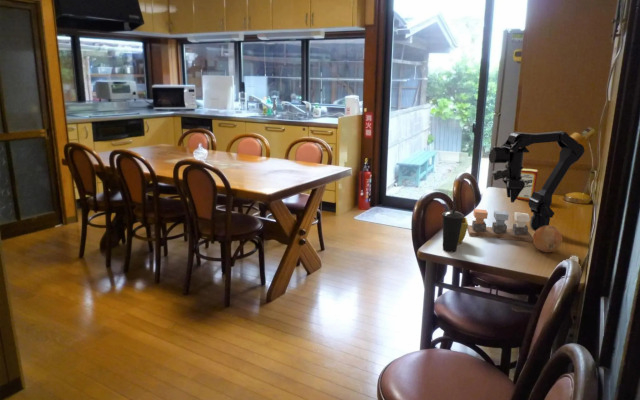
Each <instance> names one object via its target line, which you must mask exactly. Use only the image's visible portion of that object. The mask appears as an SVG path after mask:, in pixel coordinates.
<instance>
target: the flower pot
mask: <svg viewBox="0 0 640 400" xmlns="http://www.w3.org/2000/svg"><path fill="white" fill-rule="evenodd" d="M468 225H469V222H468V219H467V217H465V216H464V218H463V221H462V225H461V230H460V235H459V240H458V245H460V244H461V243H462V242H463V241H464V239H465V237H466V235H467V232H468V230H467V227H468Z"/></svg>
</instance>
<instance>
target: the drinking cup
mask: <svg viewBox="0 0 640 400" xmlns="http://www.w3.org/2000/svg"><path fill="white" fill-rule="evenodd" d="M456 201H457V197H456V196H455V197H453V203H452V204H453V205H452V210H447V211H444V212H442V214H441V215H442V251H444V252H448V253H455V252H457V249H458V245H459V244H458V240H459V235H460V230H461V225H462V221H463V218H464V217H465V214H463V213H462V212H460V211H457V210H456V209H455V208H456V203H457V202H456Z"/></svg>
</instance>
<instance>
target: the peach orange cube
mask: <svg viewBox="0 0 640 400" xmlns="http://www.w3.org/2000/svg"><path fill="white" fill-rule="evenodd" d="M488 214H489V213H488V211H487V210H486V209H478V208H477V209H476V208H474V209H473V217H474V219H475V220H474V221H475V223H476V224H483V223H484V221H485V220H487V219H488Z"/></svg>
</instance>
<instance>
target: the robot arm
mask: <svg viewBox="0 0 640 400" xmlns="http://www.w3.org/2000/svg"><path fill="white" fill-rule="evenodd" d="M555 142H556V143H557V146H558V147H560V152H559V160H558V161H557V163H556V165H555V167H553V169H552V171H551V172H550V174H549V176H548V178H547V179H546V181H545V183H544V184H543V186H542V188H541V189H540V190H538V191H536V190H535V191H534V192H533V193H532V196H531V197H530V198H529V200H528V203H527V204H528V207H529V208H530V211H531V213H532V216H530V221H529V223H530V224H529V225H530V228H531V229H532V230H534V231H536V230H537V229H538V228H540V227H542V226H548V225H550V221H551V218H553V217H554V216H555V212H554V211H553V209H552V208H551V205H552V201H553V194H554V193H555V192H556V190H557V188H558V187H559V185H560V183H561V182H562V181H563V178H564V177H565V175H566V174H567V173H568V171H569V169H570V167H571V166H572V165H574V164H575V163H576V162H578V161H579V160H580V159H581V158H582V157H583V155H584V153H585V147H584V145H583V144H582V143H579V142H578V141H576V140H575V139H574V138H572V137H571V136H570V134H569V133H567V132H566V131H561V130H557V131H550V132H549V131H547V132H535V133H529V132H523V131H521V132H520V131H513V132H511V133H510V134H509V136H508V137H507V139H506V140H505V142H504V143H502V145H501V146H497V145H496V146H495V145H494V146H492V149H490V152H489V154H488V160H489V163H491V164H505V167H503V168H499V169H495V170H493V171H492V170H491V175H492V179H493V181H498V180H500V179H501V180H502V182H503V183H504V185H505V189H506V196H507V198H510V203H515V201H516V200H517V199H516V198H517V197H518V195H519V194H520V192H521V191H522V189H523V188H525V183H524V182H523V180H522V176H521V171H522V169H523V168H524V166H523V163H524V156H525V153H530V150H528V148H527V147H529V146H531V145H534V144H541V143H543V144H544V143H555Z"/></svg>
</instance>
